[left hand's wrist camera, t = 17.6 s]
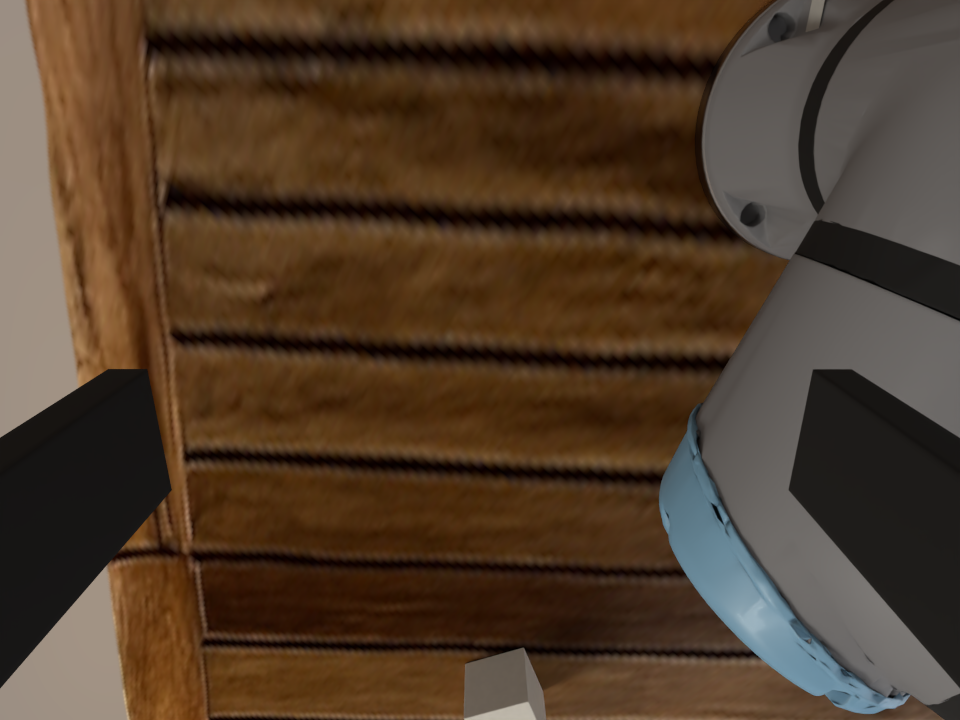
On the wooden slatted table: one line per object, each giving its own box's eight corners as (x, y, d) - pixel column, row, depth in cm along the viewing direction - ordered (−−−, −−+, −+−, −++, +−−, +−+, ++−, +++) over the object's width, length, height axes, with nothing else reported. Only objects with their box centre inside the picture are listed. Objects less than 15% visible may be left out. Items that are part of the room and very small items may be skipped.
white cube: (523, 647, 49) (528, 701, 44) (543, 691, 50) (549, 748, 46) (465, 663, 49) (463, 719, 45) (485, 706, 51) (486, 764, 46)
